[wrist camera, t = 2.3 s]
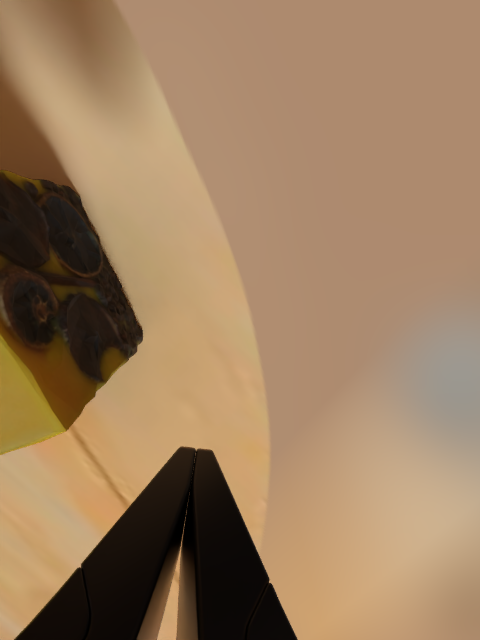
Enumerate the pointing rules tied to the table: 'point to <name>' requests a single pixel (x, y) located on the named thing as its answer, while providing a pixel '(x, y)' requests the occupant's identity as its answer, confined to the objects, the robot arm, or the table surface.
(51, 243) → the spotted yellow cube
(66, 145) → the table surface
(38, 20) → the table surface
